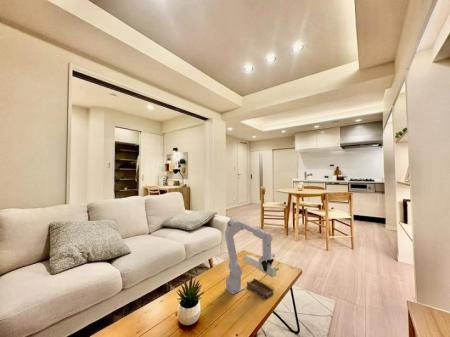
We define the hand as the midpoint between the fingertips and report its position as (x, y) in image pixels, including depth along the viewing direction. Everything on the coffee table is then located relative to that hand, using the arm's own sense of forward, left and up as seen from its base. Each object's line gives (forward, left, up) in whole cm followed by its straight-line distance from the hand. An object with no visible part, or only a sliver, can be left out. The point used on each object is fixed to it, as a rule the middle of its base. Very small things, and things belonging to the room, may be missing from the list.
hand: (267, 270), depth 129 cm
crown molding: (+14, +20, -9) cm, 26 cm away
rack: (-11, -3, -8) cm, 14 cm away
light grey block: (0, 0, -2) cm, 2 cm away
